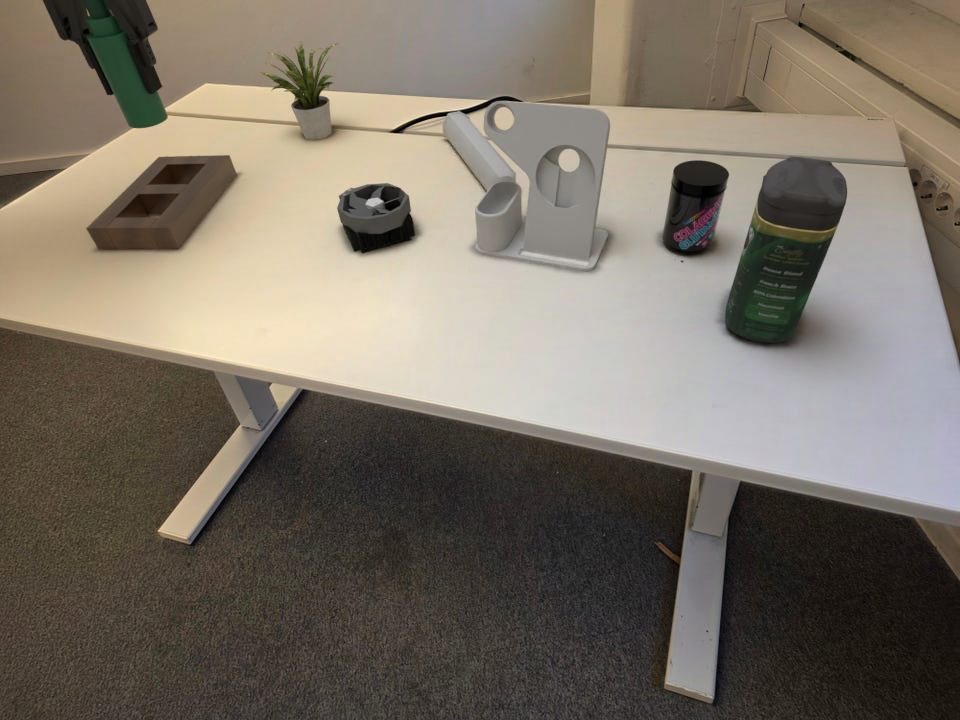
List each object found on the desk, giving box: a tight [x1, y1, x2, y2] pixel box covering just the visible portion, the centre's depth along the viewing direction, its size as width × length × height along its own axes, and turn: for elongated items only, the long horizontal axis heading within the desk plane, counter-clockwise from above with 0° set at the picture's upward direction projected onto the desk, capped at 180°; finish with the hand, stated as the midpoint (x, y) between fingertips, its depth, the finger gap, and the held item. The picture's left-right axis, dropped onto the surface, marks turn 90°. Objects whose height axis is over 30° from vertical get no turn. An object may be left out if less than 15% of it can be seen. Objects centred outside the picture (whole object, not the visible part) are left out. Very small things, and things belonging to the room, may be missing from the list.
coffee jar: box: [724, 156, 848, 344], centre depth 65 cm, size 10×8×19 cm
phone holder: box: [474, 100, 611, 272], centre depth 79 cm, size 17×10×18 cm, turn 68°
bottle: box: [83, 0, 169, 129], centre depth 84 cm, size 6×6×17 cm
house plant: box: [260, 40, 339, 141], centre depth 112 cm, size 14×14×16 cm
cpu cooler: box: [336, 182, 416, 254], centre depth 88 cm, size 10×6×10 cm
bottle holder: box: [85, 154, 238, 251], centre depth 98 cm, size 13×23×4 cm, turn 175°
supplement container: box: [661, 159, 730, 256], centre depth 80 cm, size 7×7×10 cm
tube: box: [442, 110, 517, 192], centre depth 101 cm, size 5×5×25 cm
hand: (135, 90), depth 87 cm, fingers closed on bottle, 6 cm apart
